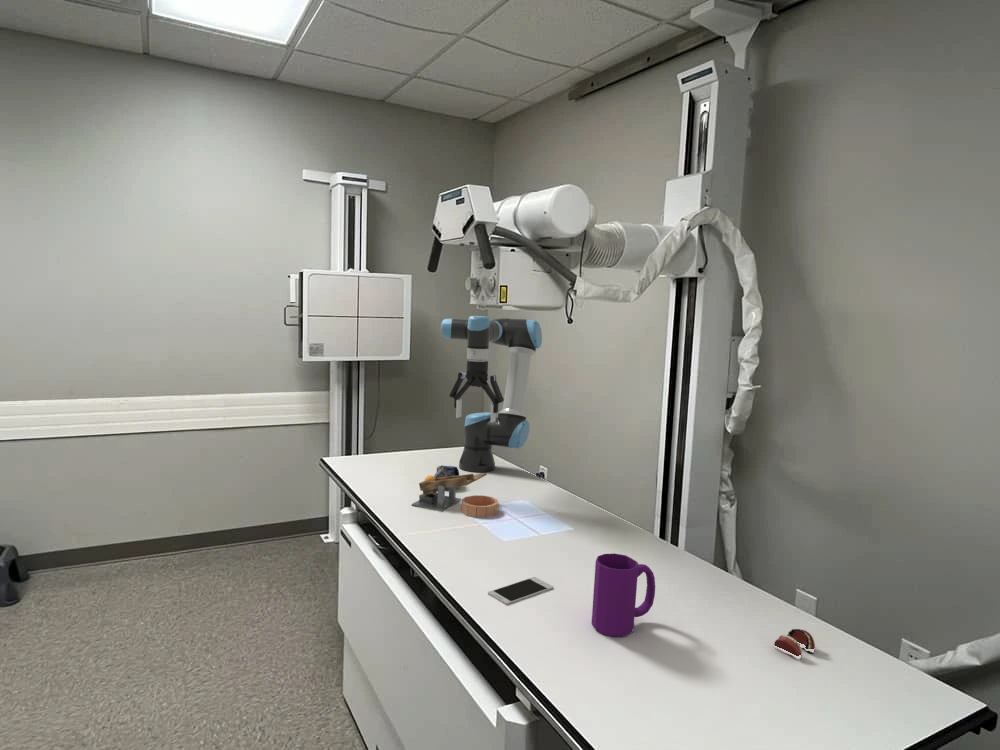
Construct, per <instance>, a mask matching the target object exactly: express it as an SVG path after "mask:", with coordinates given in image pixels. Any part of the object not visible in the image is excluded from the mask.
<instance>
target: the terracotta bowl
mask: <svg viewBox="0 0 1000 750" xmlns="http://www.w3.org/2000/svg"><path fill="white" fill-rule="evenodd" d="M460 508H461V513H462V514H464V515H465V516H469V517H473V518H490V517H494V516H495V515H496V516H497V514H499V501H498V499H497V498H495V497H493V496H487V495H469V496H465V497H463V498H461V506H460Z"/></svg>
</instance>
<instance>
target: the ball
mask: <svg viewBox="0 0 1000 750" xmlns="http://www.w3.org/2000/svg"><path fill="white" fill-rule="evenodd" d="M424 481H425V482H431V481H435V478H434V475H432V474H429V475H426V476H425V478H424Z"/></svg>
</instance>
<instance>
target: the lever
mask: <svg viewBox="0 0 1000 750" xmlns="http://www.w3.org/2000/svg"><path fill="white" fill-rule="evenodd" d="M487 475H488V473H487V472H482V473H475V474H474V473H468V474H459V475H458V476H450V477H442V478H435V481H431V482H425V480H424V481H421V482H419V483H418V485H419V491H420V492H422V494H423V495H427V494H434V493H438V485H445V488H449V487H457V488H458V487H463V486H468V485H471V484H472V483H474V482H476V481H479V480H480V479H482V478H484V477H486V476H487Z"/></svg>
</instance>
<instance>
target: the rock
mask: <svg viewBox="0 0 1000 750" xmlns="http://www.w3.org/2000/svg"><path fill="white" fill-rule="evenodd" d="M458 475H460V471H459V467H457V466H452V465H443V464H442V465H438V466H437V467H436V472H435V473H434V475H433V477H434V478H442V477H450V476H458ZM457 488H458V487H456V489H457ZM445 491H449V488H445Z"/></svg>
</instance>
